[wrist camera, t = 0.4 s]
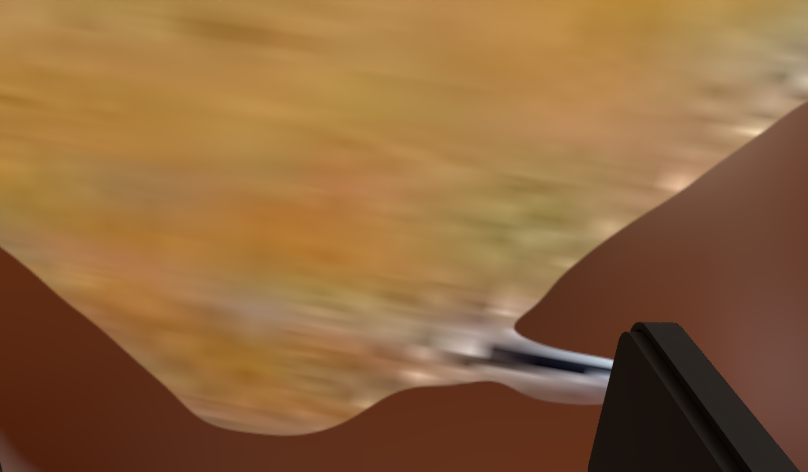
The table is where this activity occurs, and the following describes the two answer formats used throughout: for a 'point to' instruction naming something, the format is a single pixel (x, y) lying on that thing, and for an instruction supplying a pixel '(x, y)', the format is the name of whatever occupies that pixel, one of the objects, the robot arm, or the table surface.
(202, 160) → the table surface
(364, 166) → the table surface
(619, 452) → the robot arm
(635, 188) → the table surface
